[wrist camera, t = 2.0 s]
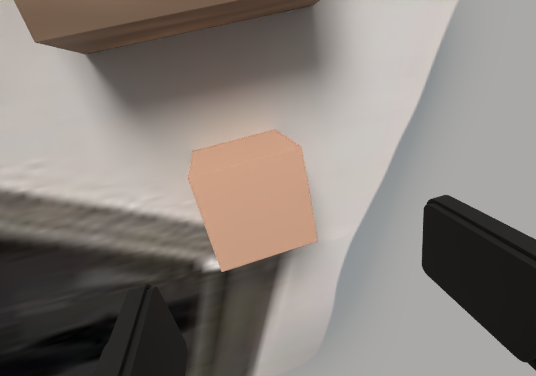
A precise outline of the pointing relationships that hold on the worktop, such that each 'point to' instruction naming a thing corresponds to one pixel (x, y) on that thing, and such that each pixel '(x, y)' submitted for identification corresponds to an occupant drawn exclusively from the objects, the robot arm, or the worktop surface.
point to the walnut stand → (134, 19)
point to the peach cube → (253, 197)
